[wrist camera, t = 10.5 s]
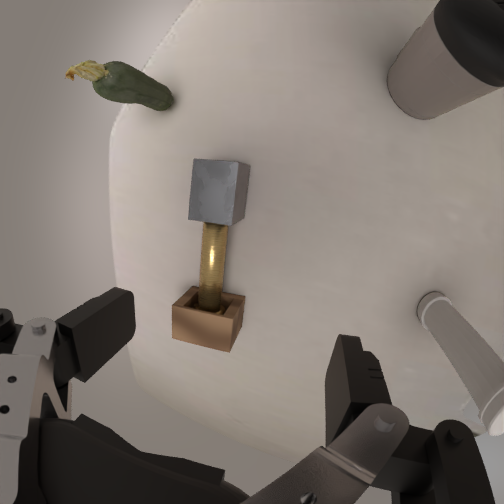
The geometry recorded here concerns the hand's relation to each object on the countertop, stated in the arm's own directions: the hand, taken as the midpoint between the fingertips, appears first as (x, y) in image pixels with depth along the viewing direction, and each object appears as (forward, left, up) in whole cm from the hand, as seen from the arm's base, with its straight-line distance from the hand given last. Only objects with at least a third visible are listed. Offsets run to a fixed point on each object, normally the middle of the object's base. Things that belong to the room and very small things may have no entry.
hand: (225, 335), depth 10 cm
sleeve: (-4, -8, -28) cm, 29 cm away
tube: (+5, -8, -26) cm, 28 cm away
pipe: (+8, +24, -28) cm, 38 cm away
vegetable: (-15, -18, -28) cm, 37 cm away
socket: (+14, -8, -28) cm, 32 cm away
